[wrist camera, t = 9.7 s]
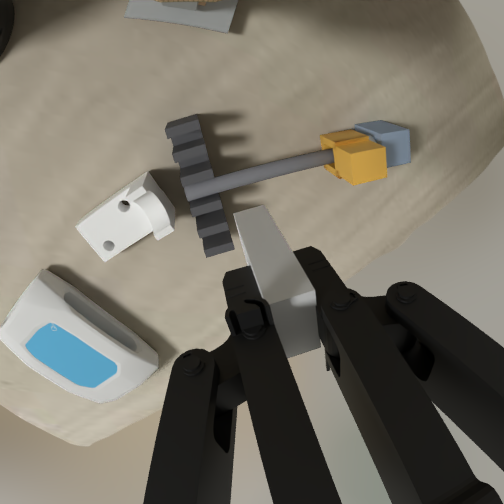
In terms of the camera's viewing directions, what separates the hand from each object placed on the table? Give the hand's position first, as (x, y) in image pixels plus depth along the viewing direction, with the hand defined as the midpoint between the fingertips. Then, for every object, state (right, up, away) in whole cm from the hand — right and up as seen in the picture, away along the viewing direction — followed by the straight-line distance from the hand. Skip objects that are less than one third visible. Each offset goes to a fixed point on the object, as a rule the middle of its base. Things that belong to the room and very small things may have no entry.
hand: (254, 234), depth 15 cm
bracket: (-19, +5, +29) cm, 35 cm away
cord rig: (+5, +13, +29) cm, 33 cm away
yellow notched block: (+12, +14, +28) cm, 33 cm away
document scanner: (-35, -17, +39) cm, 55 cm away
